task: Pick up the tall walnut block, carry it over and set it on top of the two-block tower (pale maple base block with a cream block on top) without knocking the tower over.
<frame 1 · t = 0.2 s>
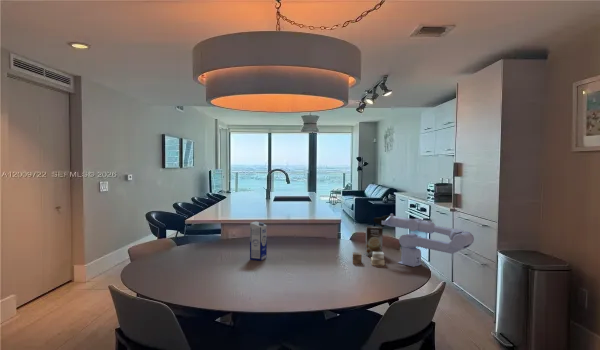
hand: (378, 218, 205), 22 cm above the table, tool horizontal, fingers open, 7 cm apart
base block: (377, 264, 190), on the table
top block: (378, 258, 190), point 3 cm above the table
walnut block: (357, 262, 192), on the table
milk carton: (258, 259, 198), on the table
coffee box: (373, 255, 210), on the table
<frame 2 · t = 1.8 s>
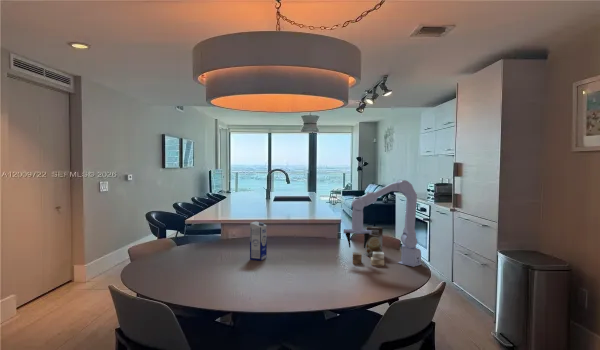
hand: (357, 247, 192), 8 cm above the table, tool pointing down, fingers open, 7 cm apart
base block: (377, 264, 190), on the table, touching top block
top block: (378, 258, 190), point 3 cm above the table, touching base block
everything else where it was.
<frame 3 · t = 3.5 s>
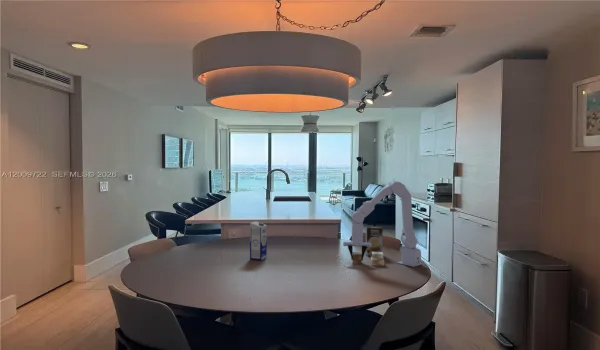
hand: (357, 260, 192), 1 cm above the table, tool pointing down, fingers closed on walnut block, 4 cm apart
base block: (377, 264, 190), on the table
top block: (377, 258, 190), point 3 cm above the table
walnut block: (357, 262, 192), on the table, touching gripper
everything else where it was.
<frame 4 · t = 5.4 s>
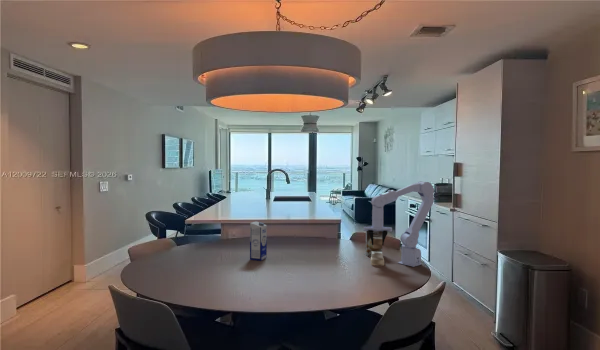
hand: (377, 244, 190), 10 cm above the table, tool pointing down, fingers closed on walnut block, 4 cm apart
base block: (377, 264, 190), on the table, touching top block
top block: (377, 258, 191), point 3 cm above the table, touching base block
walnut block: (377, 247, 190), point 8 cm above the table, touching gripper
everything else where it was.
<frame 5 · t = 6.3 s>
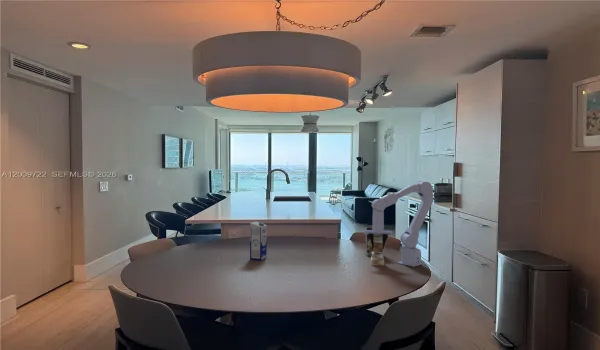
hand: (377, 248, 190), 8 cm above the table, tool pointing down, fingers closed on walnut block, 4 cm apart
base block: (377, 264, 190), on the table
top block: (377, 258, 190), point 3 cm above the table
walnut block: (377, 251, 190), point 6 cm above the table, touching gripper
everything else where it was.
when the fingers open (8 cm above the table, at t = 6.9 s): walnut block stays where it is, resting on top block.
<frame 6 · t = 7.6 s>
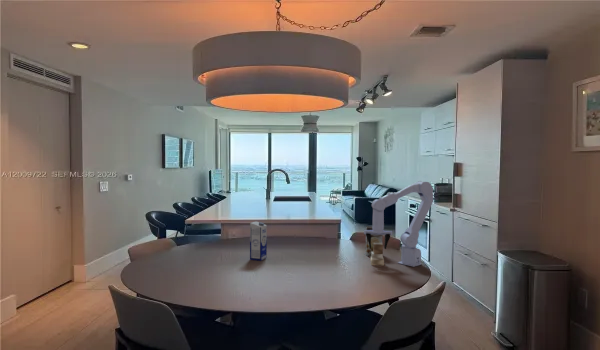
hand: (377, 248, 190), 8 cm above the table, tool pointing down, fingers open, 7 cm apart
base block: (377, 264, 190), on the table, touching top block
top block: (376, 258, 191), point 3 cm above the table, touching base block, walnut block
walnut block: (377, 253, 190), point 6 cm above the table, touching top block
everything else where it was.
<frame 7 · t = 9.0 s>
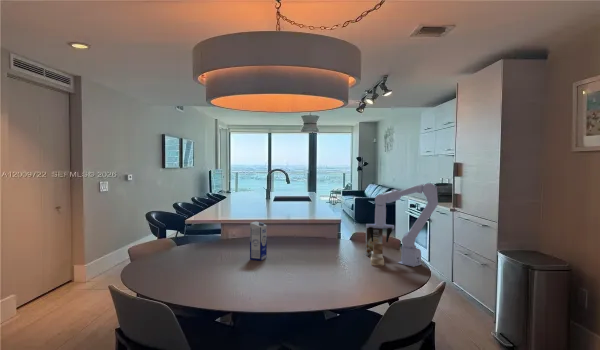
hand: (379, 241, 196), 10 cm above the table, tool pointing down, fingers open, 7 cm apart
nothing on the table moved.
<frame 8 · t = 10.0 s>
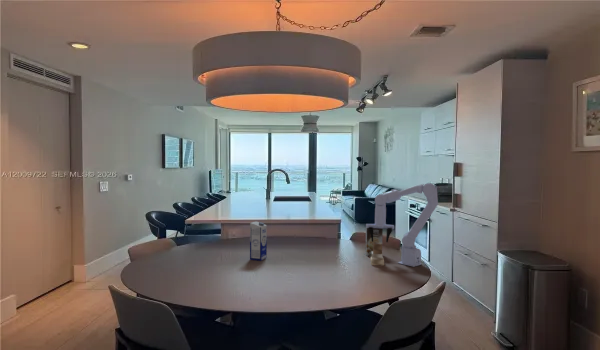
hand: (379, 241, 196), 10 cm above the table, tool pointing down, fingers open, 7 cm apart
nothing on the table moved.
at the end: walnut block 0.4 cm off-centre on the top block, point 3.0 cm above the top block's base; top block moved 0.8 cm from its start; walnut block tilted 0° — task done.
